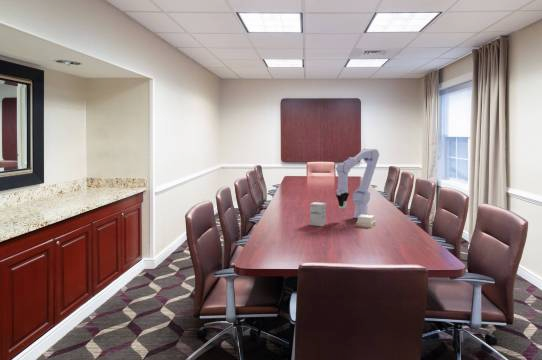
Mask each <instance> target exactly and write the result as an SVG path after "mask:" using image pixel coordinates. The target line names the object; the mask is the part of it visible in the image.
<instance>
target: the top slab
mask: <svg viewBox="0 0 542 360" xmlns="http://www.w3.org/2000/svg"><path fill="white" fill-rule="evenodd" d="M357 221H358V222H365V223H372V222H373V221H375V215H371V214H367V215H363V214H361V215H360V216H358V218H357Z"/></svg>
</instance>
